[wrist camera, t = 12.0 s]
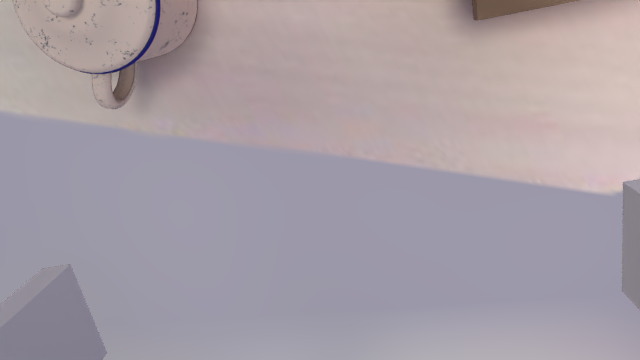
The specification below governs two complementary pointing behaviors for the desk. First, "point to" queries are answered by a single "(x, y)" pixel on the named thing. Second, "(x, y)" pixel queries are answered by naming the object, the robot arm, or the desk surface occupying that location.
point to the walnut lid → (508, 7)
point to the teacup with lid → (107, 36)
